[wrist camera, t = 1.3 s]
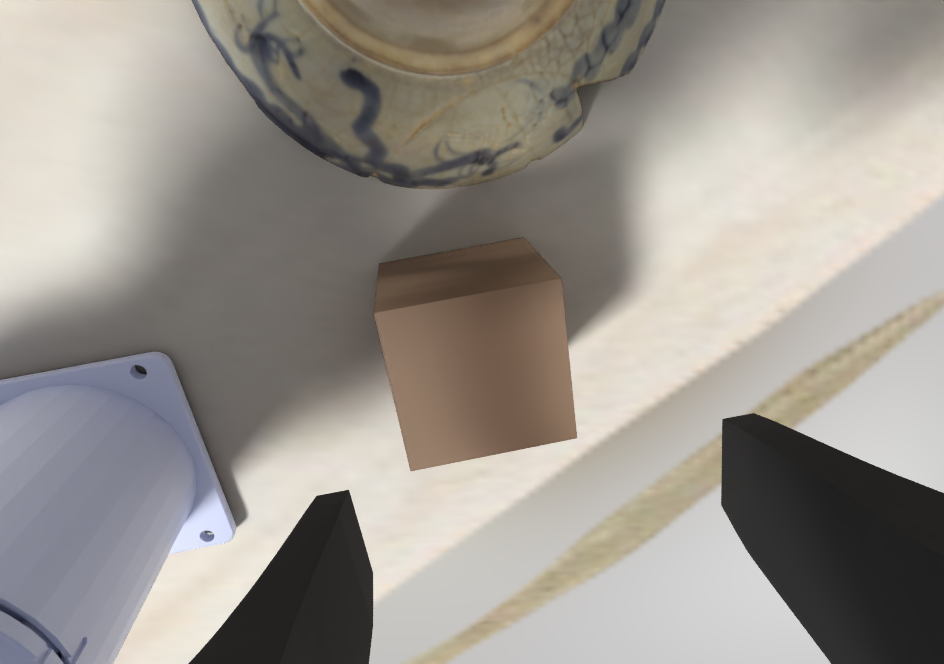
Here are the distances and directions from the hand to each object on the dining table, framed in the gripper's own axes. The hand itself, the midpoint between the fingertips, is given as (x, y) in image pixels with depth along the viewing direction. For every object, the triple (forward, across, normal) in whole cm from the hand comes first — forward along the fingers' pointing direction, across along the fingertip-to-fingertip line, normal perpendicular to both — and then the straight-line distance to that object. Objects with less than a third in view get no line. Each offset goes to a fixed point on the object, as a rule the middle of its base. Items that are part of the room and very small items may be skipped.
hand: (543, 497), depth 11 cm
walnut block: (+10, +1, 0) cm, 11 cm away
